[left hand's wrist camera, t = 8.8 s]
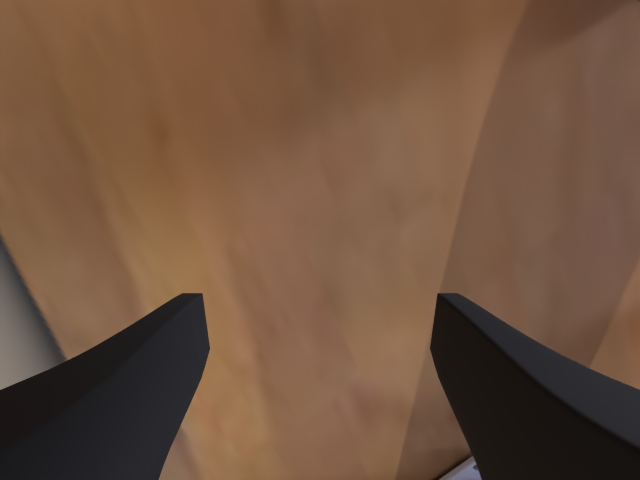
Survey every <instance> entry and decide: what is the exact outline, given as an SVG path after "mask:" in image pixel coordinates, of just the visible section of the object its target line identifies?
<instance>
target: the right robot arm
mask: <svg viewBox="0 0 640 480" xmlns="http://www.w3.org/2000/svg"><path fill="white" fill-rule="evenodd" d="M439 480H481V477H480V474H479V471H478V468H477V465H476V462H475V460H474V457H473V456H472V457H470V458H469V459H467V460H466V461H465V462H463V463H462V464H460V465H459V466H457V467H456V468H455V469H453V470H452V471H450V472H449V473H447V474H446V475H445V476H443V477H442V478H440V479H439Z"/></svg>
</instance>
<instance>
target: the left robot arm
mask: <svg viewBox="0 0 640 480" xmlns="http://www.w3.org/2000/svg"><path fill="white" fill-rule="evenodd" d="M638 1H640V0H638ZM209 350H210V346H209V338H208V331H207V324H206V316H205V309H204V302H203V295H202V293H182V294H180V295H178V296H177V297H175V298H173V299H171V300H170V301H168V302H167V303H165V304H163V305H162V306H160V307H159V308H157V309H156V310H154V311H153V312H151V313H149V314H148V315H146V316H145V317H143V318H142V319H140V320H139V321H137V322H135V323H134V324H132V325H131V326H129V327H127V328H126V329H124V330H122V331H121V332H119V333H117V334H115V335H114V336H112V337H110V338H109V339H107V340H105V341H104V342H102V343H100V344H98V345H97V346H95V347H93V348H91V349H89V350H88V351H86V352H84V353H82V354H80V355H78V356H76V357H74V358H72V359H70V360H68V361H66V362H64V363H62V364H60V365H58V366H56V367H53V368H51V369H49V370H47V371H44V372H42V373H40V374H37V375H35V376H33V377H30V378H28V379H26V380H23V381H21V382H18V383H16V384H14V385H11V386H9V387H7V388H4V389H2V390H0V480H159V477H160V474H161V471H162V468H163V465H164V462H165V460H166V457H167V455H168V452H169V450H170V447H171V445H172V443H173V441H174V438H175V436H176V434H177V432H178V430H179V427H180V425H181V423H182V421H183V418H184V416H185V414H186V412H187V409H188V407H189V405H190V403H191V401H192V398H193V396H194V394H195V391H196V389H197V387H198V385H199V382H200V380H201V377H202V374H203V371H204V368H205V364H206V361H207V357H208V353H209ZM430 350H431V353H432V357H433V361H434V364H435V368H436V371H437V374H438V377H439V380H440V382H441V385H442V387H443V389H444V391H445V394H446V396H447V398H448V401H449V403H450V405H451V407H452V410H453V412H454V414H455V416H456V418H457V421H458V423H459V425H460V427H461V430H462V432H463V434H464V436H465V438H466V441H467V443H468V445H469V447H470V450H471V452H472V455H473V457H474V460H475V462H476V465H477V468H478V471H479V474H480V477H481V480H640V390H639V389H636V388H634V387H631V386H629V385H627V384H624V383H622V382H619V381H617V380H614V379H612V378H609V377H607V376H605V375H603V374H600V373H598V372H596V371H594V370H591V369H589V368H587V367H585V366H583V365H581V364H579V363H577V362H575V361H573V360H571V359H569V358H566V357H564V356H562V355H560V354H559V353H557V352H555V351H553V350H551V349H549V348H547V347H546V346H544V345H542V344H540V343H538V342H537V341H535V340H533V339H531V338H530V337H528V336H526V335H524V334H523V333H521V332H519V331H518V330H516V329H514V328H513V327H511V326H510V325H508V324H506V323H505V322H503V321H502V320H500V319H499V318H497V317H495V316H494V315H492V314H491V313H489V312H488V311H486V310H485V309H483V308H481V307H480V306H478V305H477V304H475V303H474V302H472V301H470V300H469V299H467V298H465V297H464V296H462V295H460V294H458V293H438V295H437V302H436V309H435V316H434V324H433V331H432V338H431V346H430Z"/></svg>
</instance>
